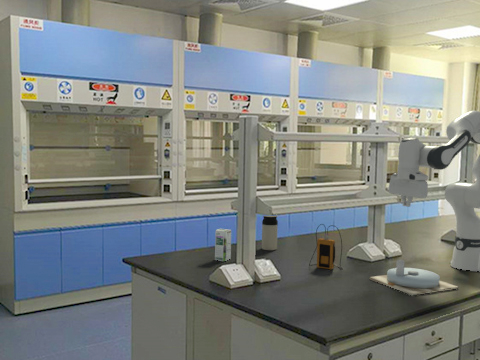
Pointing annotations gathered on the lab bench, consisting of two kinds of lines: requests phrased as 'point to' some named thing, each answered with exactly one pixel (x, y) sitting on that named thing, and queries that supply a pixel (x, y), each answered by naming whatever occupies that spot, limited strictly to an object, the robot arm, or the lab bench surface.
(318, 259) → the multimeter
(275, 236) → the travel mug
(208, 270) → the lab bench surface
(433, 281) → the capstan dial
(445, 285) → the base plate
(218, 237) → the syrup box
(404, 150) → the robot arm
